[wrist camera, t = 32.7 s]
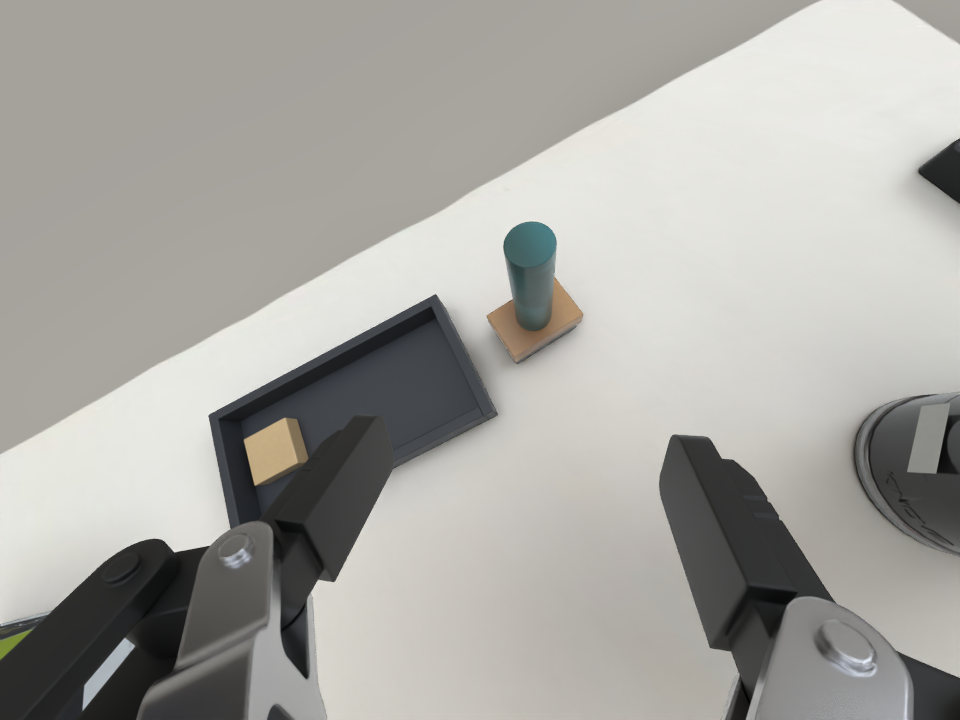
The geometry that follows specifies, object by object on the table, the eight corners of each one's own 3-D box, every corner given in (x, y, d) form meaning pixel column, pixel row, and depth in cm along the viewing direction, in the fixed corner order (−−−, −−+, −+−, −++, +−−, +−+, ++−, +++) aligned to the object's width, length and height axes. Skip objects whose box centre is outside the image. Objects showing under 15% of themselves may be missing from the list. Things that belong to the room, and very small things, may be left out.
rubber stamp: (551, 291, 29) (558, 185, 17) (579, 328, 27) (606, 239, 16) (491, 329, 29) (458, 247, 17) (516, 367, 27) (498, 306, 16)
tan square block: (297, 418, 29) (284, 417, 28) (310, 462, 28) (298, 462, 26) (257, 440, 29) (242, 439, 28) (268, 484, 28) (254, 486, 26)
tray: (445, 307, 30) (435, 293, 27) (498, 414, 27) (493, 410, 24) (236, 418, 31) (207, 414, 28) (262, 535, 27) (232, 544, 25)
